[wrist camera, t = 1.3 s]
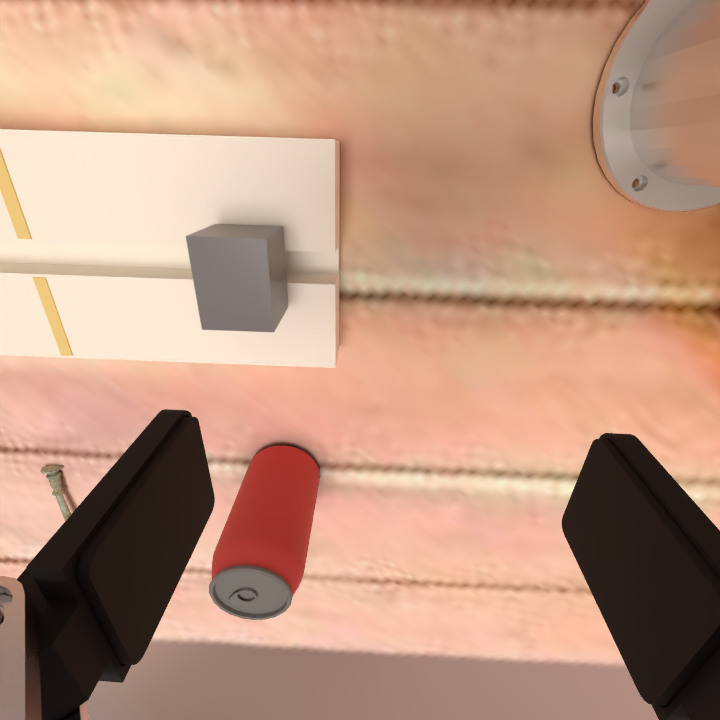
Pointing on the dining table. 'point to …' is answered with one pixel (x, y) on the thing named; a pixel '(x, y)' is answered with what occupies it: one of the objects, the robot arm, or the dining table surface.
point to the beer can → (266, 535)
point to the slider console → (160, 243)
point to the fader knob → (239, 276)
